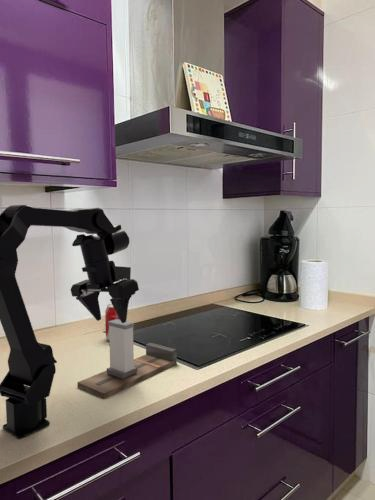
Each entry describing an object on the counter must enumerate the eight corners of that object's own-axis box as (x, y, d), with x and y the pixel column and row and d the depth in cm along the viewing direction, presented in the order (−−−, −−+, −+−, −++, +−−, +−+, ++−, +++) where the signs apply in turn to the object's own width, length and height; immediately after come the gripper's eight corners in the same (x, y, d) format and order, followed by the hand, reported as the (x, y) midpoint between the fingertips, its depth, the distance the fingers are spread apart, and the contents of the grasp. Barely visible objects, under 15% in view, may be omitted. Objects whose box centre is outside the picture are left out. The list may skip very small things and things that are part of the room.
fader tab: (123, 379, 92) (122, 326, 91) (106, 372, 96) (104, 322, 95) (137, 372, 96) (136, 322, 95) (120, 366, 100) (119, 318, 99)
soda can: (107, 336, 132) (106, 303, 131) (127, 336, 132) (126, 302, 131) (104, 343, 125) (103, 307, 124) (125, 342, 125) (124, 307, 124)
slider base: (104, 398, 85) (103, 380, 85) (77, 387, 91) (77, 370, 91) (176, 363, 106) (176, 349, 105) (150, 356, 112) (150, 342, 111)
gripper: (147, 249, 90) (160, 310, 92) (97, 253, 101) (110, 307, 104) (113, 262, 81) (129, 329, 84) (62, 264, 92) (77, 323, 95)
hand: (111, 321), depth 92 cm, fingers open, 9 cm apart
